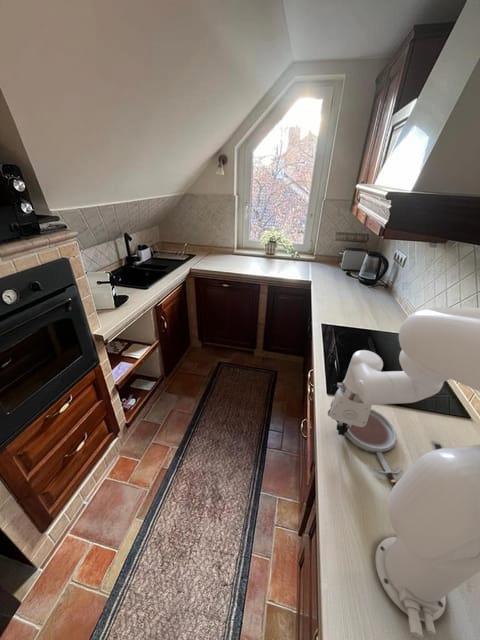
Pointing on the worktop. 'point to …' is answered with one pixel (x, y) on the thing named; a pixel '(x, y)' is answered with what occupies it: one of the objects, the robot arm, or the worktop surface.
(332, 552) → the worktop surface
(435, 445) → the strip
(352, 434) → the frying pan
